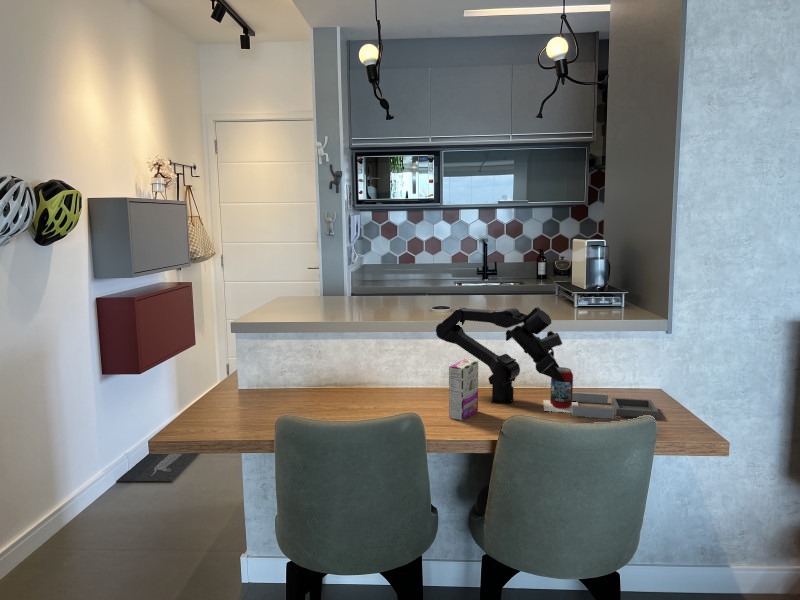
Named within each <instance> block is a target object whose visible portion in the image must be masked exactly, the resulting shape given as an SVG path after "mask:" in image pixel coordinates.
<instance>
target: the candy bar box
mask: <svg viewBox="0 0 800 600" xmlns="http://www.w3.org/2000/svg"><path fill="white" fill-rule="evenodd" d="M448 393H449V394H448V400H449V401H448V414H449V415H448V417H449V419H452V420H456V421H459V422H460V421H462V422H463V421H465V420H467V419H468V418H469V417H471V416H473V415H474V414H475V413H476V412H478V411H479V360H475V359H468V358H466V359H465V358H464V359H463V360H461V361H458V362H457V363H453V364H452V365H449V366H448Z"/></svg>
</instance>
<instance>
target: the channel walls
mask: <svg viewBox="0 0 800 600" xmlns="http://www.w3.org/2000/svg"><path fill="white" fill-rule="evenodd" d="M608 400H609V394H608V393H603V392H602V393H599V392H583V391H582V392H580V391H573V392H572V401H576V402H578V403H586V404H587V403H590V404H606V405H607V404H608V403H609V401H608ZM572 416H573V417H577V416H585V417H584V418H592V417H598V418H597V419H607V418H610V419H609V420H614V419H615V413H614V408H612V407H603V406H602V407H601V406H599V407H598V406H585V405H579V406H573V413H572ZM611 418H612V419H611Z"/></svg>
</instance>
